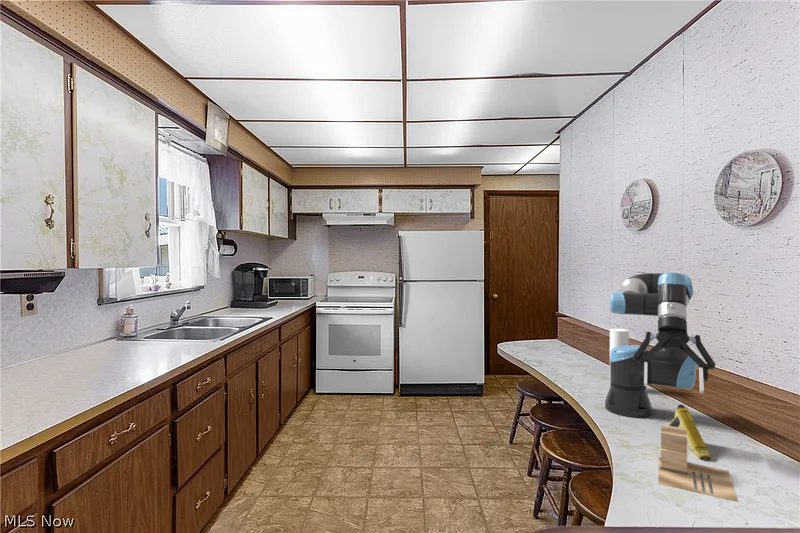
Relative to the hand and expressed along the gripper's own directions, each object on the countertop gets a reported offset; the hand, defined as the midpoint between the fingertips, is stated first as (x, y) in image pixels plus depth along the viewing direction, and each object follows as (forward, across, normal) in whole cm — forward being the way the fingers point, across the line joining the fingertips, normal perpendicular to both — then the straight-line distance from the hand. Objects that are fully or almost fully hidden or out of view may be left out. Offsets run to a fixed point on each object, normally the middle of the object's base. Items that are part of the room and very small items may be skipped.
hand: (672, 388), depth 123 cm
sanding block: (+21, 0, -4) cm, 22 cm away
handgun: (+14, +4, +12) cm, 19 cm away
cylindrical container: (-14, -18, +58) cm, 63 cm away
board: (+25, +4, -7) cm, 26 cm away
